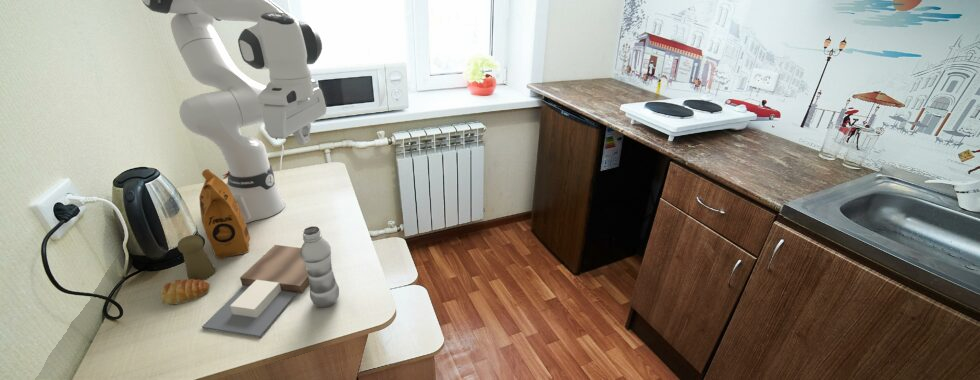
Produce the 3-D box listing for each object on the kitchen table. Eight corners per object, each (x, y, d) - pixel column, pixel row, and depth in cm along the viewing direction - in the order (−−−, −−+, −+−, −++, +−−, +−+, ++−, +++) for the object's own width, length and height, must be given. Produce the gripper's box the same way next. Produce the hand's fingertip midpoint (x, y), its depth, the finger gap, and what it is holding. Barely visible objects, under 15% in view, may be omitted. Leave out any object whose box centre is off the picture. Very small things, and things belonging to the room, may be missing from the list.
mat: (202, 328, 91) (201, 326, 90) (244, 287, 102) (244, 285, 102) (260, 337, 89) (260, 335, 88) (296, 294, 100) (296, 292, 100)
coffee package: (210, 263, 110) (183, 191, 100) (211, 239, 120) (187, 171, 109) (252, 253, 114) (230, 182, 104) (250, 231, 124) (230, 164, 114)
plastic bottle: (310, 313, 95) (293, 241, 86) (313, 293, 101) (296, 224, 91) (340, 308, 97) (326, 237, 87) (341, 289, 102) (327, 220, 93)
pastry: (213, 281, 104) (209, 269, 102) (208, 299, 99) (203, 287, 97) (169, 290, 101) (164, 278, 99) (161, 309, 96) (155, 296, 94)
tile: (232, 314, 94) (229, 305, 92) (258, 287, 101) (256, 279, 100) (257, 317, 93) (254, 309, 92) (281, 290, 101) (279, 282, 99)
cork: (202, 283, 103) (188, 247, 98) (182, 279, 104) (166, 244, 99) (221, 268, 108) (208, 233, 103) (201, 265, 110) (188, 230, 104)
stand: (242, 285, 103) (239, 277, 102) (277, 252, 115) (275, 244, 114) (301, 293, 101) (299, 285, 99) (330, 258, 113) (329, 251, 112)
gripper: (305, 77, 107) (314, 128, 114) (252, 98, 89) (267, 157, 96) (327, 78, 106) (336, 129, 113) (279, 100, 88) (292, 159, 95)
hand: (304, 142), depth 104 cm, fingers closed
